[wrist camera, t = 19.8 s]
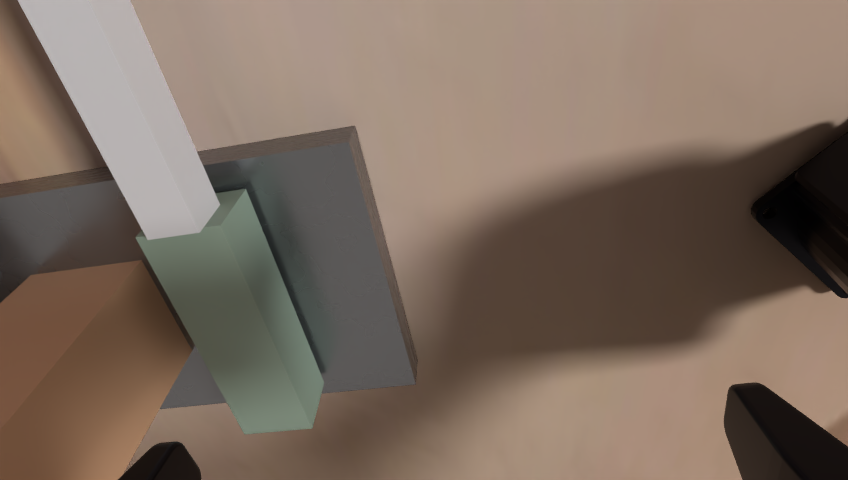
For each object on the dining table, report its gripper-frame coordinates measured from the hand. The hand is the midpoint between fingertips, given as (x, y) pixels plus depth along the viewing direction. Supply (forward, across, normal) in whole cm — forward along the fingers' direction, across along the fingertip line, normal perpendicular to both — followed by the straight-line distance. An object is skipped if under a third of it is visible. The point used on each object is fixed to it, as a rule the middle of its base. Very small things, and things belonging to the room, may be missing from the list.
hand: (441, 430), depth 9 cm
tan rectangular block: (+12, +15, +5) cm, 20 cm away
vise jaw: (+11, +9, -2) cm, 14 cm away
